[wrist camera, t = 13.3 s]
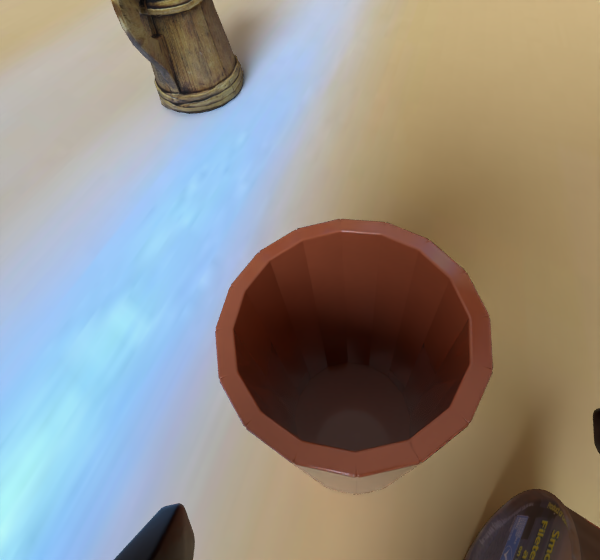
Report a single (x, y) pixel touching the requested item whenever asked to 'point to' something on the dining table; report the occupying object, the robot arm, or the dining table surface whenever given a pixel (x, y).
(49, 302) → the dining table surface
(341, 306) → the pot
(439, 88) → the dining table surface
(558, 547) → the tin
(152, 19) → the wooden mug
